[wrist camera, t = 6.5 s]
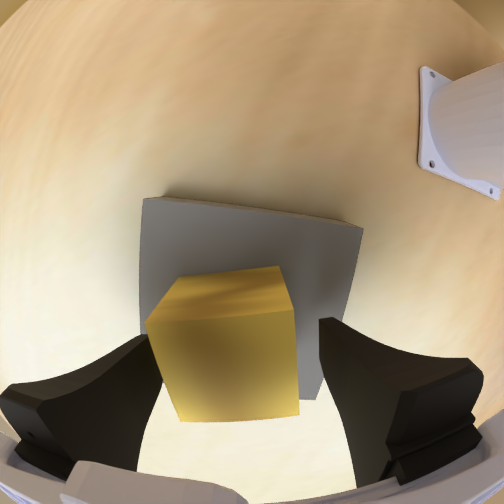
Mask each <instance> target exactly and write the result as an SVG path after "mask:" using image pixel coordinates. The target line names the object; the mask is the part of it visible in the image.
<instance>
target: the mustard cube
mask: <svg viewBox="0 0 504 504" xmlns="http://www.w3.org/2000/svg"><path fill="white" fill-rule="evenodd" d="M144 324H145V328H146V331H147V334H148V337H149V340H150V344H151V347H152V350H153V353H154V355H155V358H156V361H157V364H158V367H159V370H160V372H161V375H162V378H163V380H164V383H165V386H166V388H167V391H168V393H169V396H170V398H171V400H172V403H173V405H174V408H175V410H176V412H177V415H178V417H179V419H180V421H181V422H234V421H251V420H263V419H273V418H282V417H289V416H297V415H299V390H298V368H297V350H296V333H295V318H294V308H293V305H292V302H291V299H290V296H289V293H288V290H287V288H286V285H285V282H284V279H283V276H282V273H281V270H280V267H279V266H271V267H262V268H254V269H246V270H237V271H228V272H220V273H211V274H202V275H193V276H184V277H179V278H178V279H177V280H176V281H175V283H174V284H173V285H172V287H171V288H170V289H169V290H168V292H167V293H166V294H165V296H164V297H163V298H162V300H161V301H160V302H159V304H158V305H157V306H156V308H155V309H154V310H153V311H152V313H151V314H150V315H149V317H148V318H147V319H146V321H145V322H144Z"/></svg>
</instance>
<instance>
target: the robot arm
mask: <svg viewBox="0 0 504 504" xmlns="http://www.w3.org/2000/svg"><path fill="white" fill-rule="evenodd" d="M430 74H431V75H432V76H431V75H430ZM420 97H421V112H420V140H419V154H418V164H419V166H420V168H421V169H423V170H426V171H428V172H431V173H434V174H436V175H439V176H442V177H444V178H447V179H449V180H452V181H454V182H456V183H459V184H461V185H463V186H466V187H468V188H470V189H472V190H475V191H477V192H479V193H481V194H483V195H485V196H487V197H489V198H491V199H493V200H499V198H500V193H501V189H504V61H502V62H499V63H497V64H494V65H491V66H489V67H486V68H484V69H481V70H479V71H476V72H474V73H471V74H469V75H466V76H464V77H462V78H459V79H457V80H455V81H452V80H450V79H449V78H447V77H445V76H443V75H441V74H440V73H438V72H436V71H434V70H432V69H430V68H428V67H426V66H423V67H421V68H420ZM429 162H431V164H432V166H431V167H430V165H429ZM319 360H320V364H321V368H322V371H323V375H324V378H325V380H326V383H327V385H328V388H329V390H330V392H331V395H332V397H333V399H334V402H335V404H336V406H337V409H338V411H339V414H340V417H341V419H342V422H343V426H344V430H345V434H346V438H347V442H348V446H349V450H350V454H351V459H352V464H353V469H354V474H355V480H356V486H357V489H353V490H349V491H345V492H341V493H336V494H331V495H327V496H321V497H316V498H310V499H303V500H296V501H288V502H278V503H266V504H481V503H483V502H484V501H486V500H487V499H488V498H489V497H491V496H492V495H494V494H495V493H496V492H497V491H499V490H500V489H501V488H502V487H503V486H504V409H502V410H501V411H499V412H498V413H497V414H495V415H494V416H492V417H491V418H489V419H488V420H486V421H485V422H484V423H482V424H481V425H480V426H479V427H478V428H477V429H476V427H475V426H474V425H473V423H474V422H475V417H474V415H473V414H472V413H471V411H472V409H473V407H474V405H475V403H476V401H477V399H478V397H479V394H480V392H481V389H482V386H483V380H484V376H483V373H482V371H481V370H480V369H479V368H478V367H477V366H476V365H475V364H474V363H473V362H472V361H471V360H470V359H469V358H441V357H431V356H424V355H419V354H414V353H410V352H405V351H402V350H398V349H396V348H393V347H390V346H387V345H384V344H382V343H379V342H377V341H375V340H373V339H371V338H369V337H367V336H365V335H363V334H361V333H359V332H358V331H356V330H354V329H352V328H351V327H349V326H347V325H346V324H344V323H343V322H341V321H339V320H338V319H336V318H334V317H328V318H321V319H319ZM162 383H163V378H162V375H161V372H160V370H159V367H158V364H157V361H156V358H155V355H154V353H153V350H152V347H151V344H150V340H149V337H148V334H141V335H139V336H137V337H135V338H133V339H131V340H130V341H128V342H126V343H125V344H123V345H121V346H120V347H118V348H117V349H115V350H113V351H112V352H110V353H108V354H107V355H105V356H103V357H101V358H100V359H98V360H96V361H94V362H92V363H90V364H88V365H86V366H84V367H82V368H80V369H77V370H75V371H72V372H70V373H67V374H64V375H61V376H57V377H54V378H50V379H46V380H41V381H36V382H28V383H17V384H11V385H9V386H8V387H7V388H6V389H5V390H4V392H3V393H2V394H1V395H0V409H1V411H2V413H3V414H4V416H5V417H6V419H7V420H8V422H9V423H10V424H11V426H12V427H13V429H14V430H15V431H16V433H17V434H18V435H19V436H20V438H21V441H20V442H19V443H18V442H17V441H16V440H14V439H13V438H11V437H10V436H8V435H6V434H4V433H3V432H1V431H0V489H1V490H2V491H4V492H5V493H6V494H7V495H8V496H9V497H10V498H11V499H13V500H14V501H16V502H17V503H18V504H248V501H247V500H246V499H244V498H243V497H242V496H240V495H239V494H238V493H237V492H235V491H234V490H232V489H229V488H226V487H223V486H220V485H217V484H214V483H209V482H202V481H196V480H190V479H181V478H172V477H164V476H157V475H150V474H144V473H139V472H137V465H138V459H139V453H140V448H141V443H142V439H143V435H144V431H145V428H146V425H147V422H148V420H149V417H150V415H151V412H152V410H153V407H154V405H155V402H156V400H157V397H158V395H159V392H160V390H161V387H162Z"/></svg>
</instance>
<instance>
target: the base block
mask: <svg viewBox="0 0 504 504" xmlns="http://www.w3.org/2000/svg"><path fill="white" fill-rule="evenodd" d="M362 234H363V228H360V227H357V226H355V225H352V224H350V223H347V222H345V221H339V220H333V219H328V218H322V217H316V216H310V215H303V214H297V213H291V212H284V211H277V210H270V209H263V208H256V207H249V206H241V205H234V204H226V203H218V202H209V201H201V200H191V199H182V198H172V197H154V198H145V199H143V206H142V219H141V236H140V261H139V307H140V333H141V334H147V331H146V328H145V324H144V322H145V321H146V319H147V318H148V317H149V315H150V314H151V313H152V311H153V310H154V309H155V308H156V306H157V305H158V304H159V302H160V301H161V300H162V298H163V297H164V296H165V294H166V293H167V292H168V290H169V289H170V288H171V287H172V285H173V284H174V283H175V281H176V280H177V279H178V278H179V277H184V276H193V275H202V274H211V273H220V272H228V271H237V270H246V269H254V268H262V267H271V266H279V267H280V270H281V273H282V276H283V279H284V282H285V285H286V288H287V290H288V293H289V296H290V299H291V302H292V305H293V308H294V318H295V333H296V350H297V368H298V390H299V399H303V400H316V397H317V394H318V392H319V389H320V386H321V384H322V381H323V378H324V375H323V371H322V368H321V364H320V360H319V319H321V318H328V317H334V318H336V319H338V320H339V321H341V322H342V318H343V315H344V311H345V308H346V304H347V300H348V296H349V292H350V288H351V284H352V280H353V276H354V272H355V268H356V263H357V259H358V254H359V249H360V244H361V239H362ZM163 383H164V380H163Z"/></svg>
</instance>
